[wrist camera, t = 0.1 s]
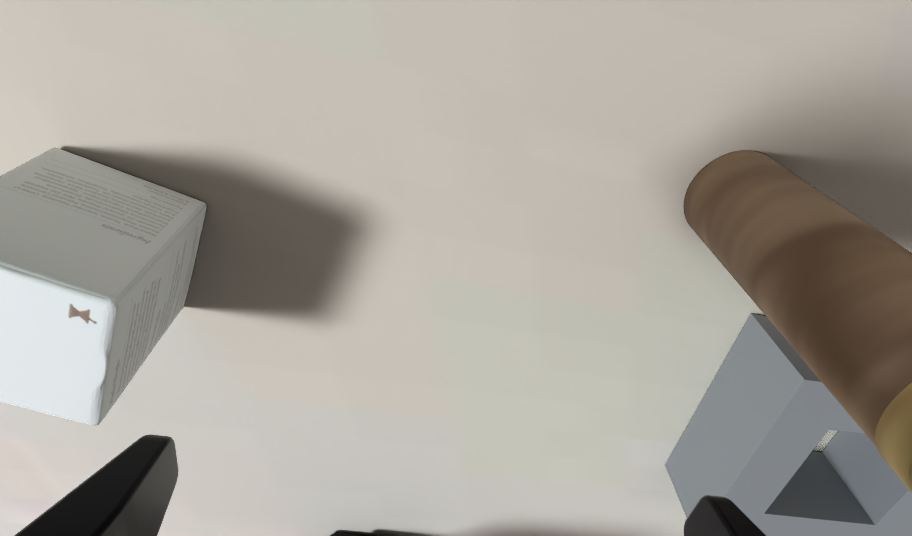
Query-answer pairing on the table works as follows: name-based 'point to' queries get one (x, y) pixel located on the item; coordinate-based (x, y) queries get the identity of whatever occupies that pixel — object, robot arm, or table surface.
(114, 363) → the product box
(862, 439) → the socket block
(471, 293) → the table surface
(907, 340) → the peg
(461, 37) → the table surface
